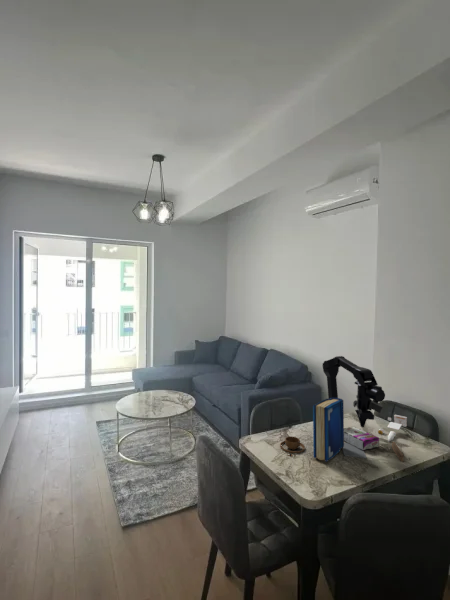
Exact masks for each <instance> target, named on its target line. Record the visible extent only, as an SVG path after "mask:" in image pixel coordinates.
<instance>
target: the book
mask: <svg viewBox="0 0 450 600" xmlns="http://www.w3.org/2000/svg"><path fill="white" fill-rule="evenodd" d="M344 417H345V416H344V399H342V398H339V397H338V398H333V397H332V398H330V399H329V398H325V399H323V400H320V401H319V402H317V403H315V404H313V405H312V432H313V433H312V434H313V435H312V436H313V439H312V440H313V443H312V445H313V447H312V448H313V450H312V451H313V458H314V459H317V460H319V461H325V462H328V461H330V460H331V459H333V458H334V457H335V456H337V455H338V454H339V453H340V451H341V450H342V448H343V447H344V443H345V441H344V428H345V426H344V425H345V422H344V421H345V420H344Z"/></svg>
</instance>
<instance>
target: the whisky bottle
mask: <svg viewBox="0 0 450 600" xmlns="http://www.w3.org/2000/svg"><path fill="white" fill-rule="evenodd" d="M393 416H394V419H393V420H394V421H392V417H389V416H387V421H389V423H388V425H387V426H386V427H387V428H388V429H393V430H390V431H389V434H388V435H387V442H390V441H393V440H394V437H396V435H397V432H395V431H394V430H397V431H399V430H400V429H401V427H405V428H407V421H408V417H407V416H403V415H398V414H394V415H393ZM377 433H378V434H380V435H384V434H385V429H383V428H379V429H378V431H377Z"/></svg>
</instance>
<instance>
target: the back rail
mask: <svg viewBox="0 0 450 600" xmlns="http://www.w3.org/2000/svg"><path fill="white" fill-rule="evenodd" d="M391 448H392V450H393V451H394V453H395V455H396V457H397V459H398V460H399V461H400V462H401V463H402V462H404V460H405V459H404V454H403V452H402V451H401V449H400V448H399V446H398V445H397V443H396V442H395V441H392V442H391Z"/></svg>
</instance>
